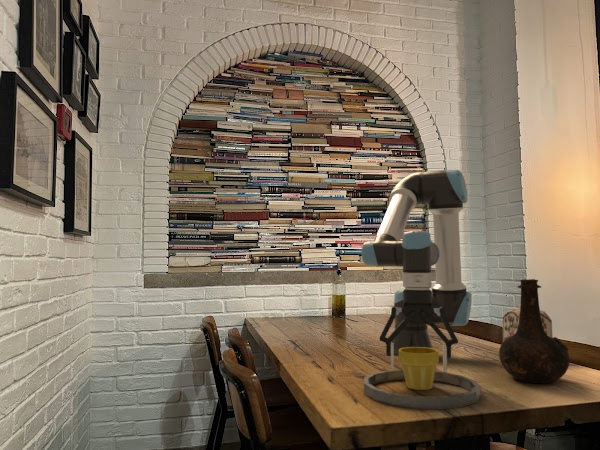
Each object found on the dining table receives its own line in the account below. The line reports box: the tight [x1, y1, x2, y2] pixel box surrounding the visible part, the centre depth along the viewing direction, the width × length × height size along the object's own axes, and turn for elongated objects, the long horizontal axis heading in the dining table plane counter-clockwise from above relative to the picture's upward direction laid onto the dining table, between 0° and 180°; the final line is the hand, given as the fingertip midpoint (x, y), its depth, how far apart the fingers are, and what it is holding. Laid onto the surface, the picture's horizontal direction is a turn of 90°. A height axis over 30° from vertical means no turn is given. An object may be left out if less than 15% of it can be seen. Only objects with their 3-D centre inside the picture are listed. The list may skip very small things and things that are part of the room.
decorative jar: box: [502, 303, 554, 343], centre depth 171 cm, size 12×12×18 cm
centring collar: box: [363, 369, 482, 410], centre depth 126 cm, size 28×28×2 cm
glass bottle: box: [498, 278, 570, 384], centre depth 139 cm, size 18×18×28 cm
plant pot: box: [398, 347, 440, 391], centre depth 131 cm, size 10×10×10 cm
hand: (418, 369), depth 131 cm, fingers open, 13 cm apart
